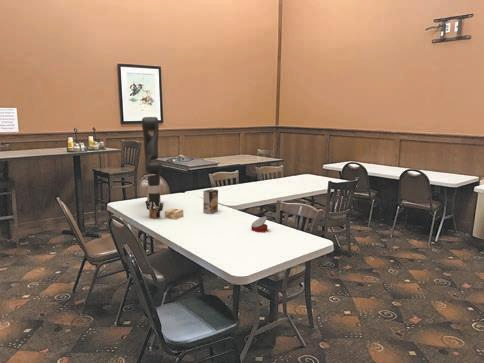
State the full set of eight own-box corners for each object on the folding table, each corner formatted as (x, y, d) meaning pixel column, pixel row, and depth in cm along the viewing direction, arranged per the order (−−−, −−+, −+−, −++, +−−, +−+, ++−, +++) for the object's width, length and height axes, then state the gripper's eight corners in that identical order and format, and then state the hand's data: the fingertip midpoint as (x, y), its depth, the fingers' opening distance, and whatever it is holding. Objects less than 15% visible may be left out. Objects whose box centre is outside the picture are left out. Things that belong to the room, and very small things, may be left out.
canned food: (264, 239, 247) (264, 227, 240) (249, 235, 250) (248, 224, 244) (270, 226, 255) (270, 215, 249) (255, 223, 258) (254, 211, 252)
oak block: (164, 218, 275) (164, 211, 274) (172, 215, 283) (172, 208, 282) (176, 219, 271) (176, 212, 270) (183, 216, 279) (183, 209, 278)
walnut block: (149, 218, 274) (149, 209, 273) (154, 216, 278) (154, 208, 277) (155, 219, 271) (155, 210, 270) (160, 217, 276) (159, 208, 274)
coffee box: (210, 214, 285) (210, 191, 283) (203, 213, 289) (203, 190, 286) (218, 211, 293) (218, 189, 290) (211, 210, 296) (211, 188, 294)
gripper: (142, 191, 272) (142, 216, 274) (158, 193, 265) (159, 219, 268) (149, 189, 278) (150, 214, 281) (166, 192, 271) (166, 216, 274)
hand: (154, 216), depth 274 cm, fingers closed on walnut block, 5 cm apart
